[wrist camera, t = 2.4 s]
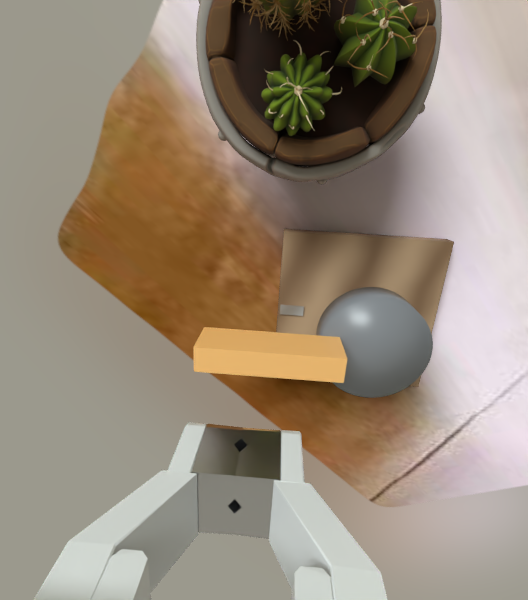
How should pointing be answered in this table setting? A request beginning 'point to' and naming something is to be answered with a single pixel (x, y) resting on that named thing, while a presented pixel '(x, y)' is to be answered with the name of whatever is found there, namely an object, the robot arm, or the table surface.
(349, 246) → the base plate
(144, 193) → the table surface
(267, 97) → the flowerpot
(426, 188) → the table surface
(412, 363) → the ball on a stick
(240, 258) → the table surface
